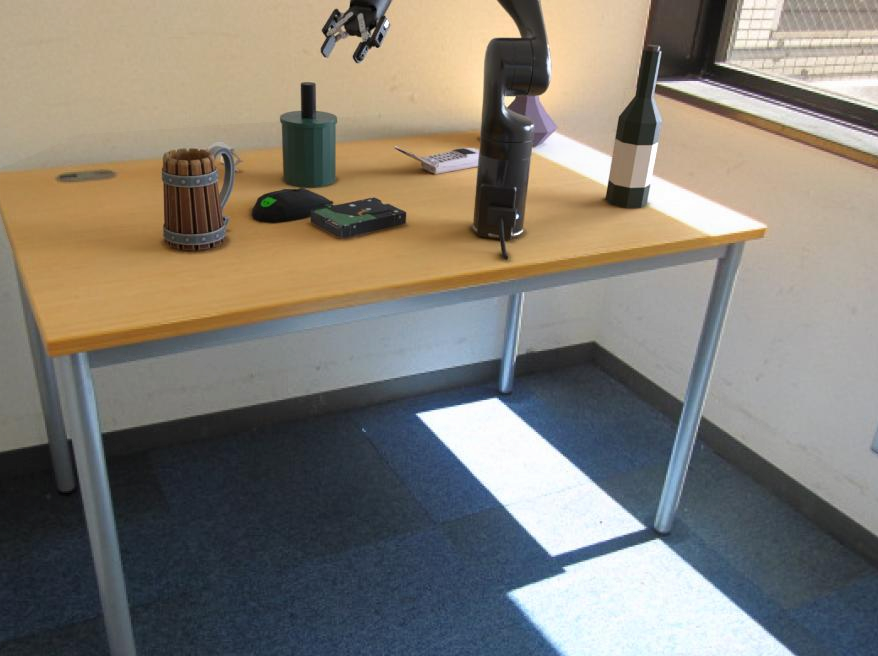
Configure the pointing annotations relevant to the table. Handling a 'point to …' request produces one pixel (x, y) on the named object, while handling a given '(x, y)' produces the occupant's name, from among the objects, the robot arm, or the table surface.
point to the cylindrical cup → (309, 156)
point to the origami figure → (227, 148)
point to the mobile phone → (447, 160)
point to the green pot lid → (308, 111)
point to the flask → (534, 117)
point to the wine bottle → (636, 139)
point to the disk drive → (357, 217)
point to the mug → (195, 198)
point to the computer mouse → (287, 205)
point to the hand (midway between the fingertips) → (339, 57)
